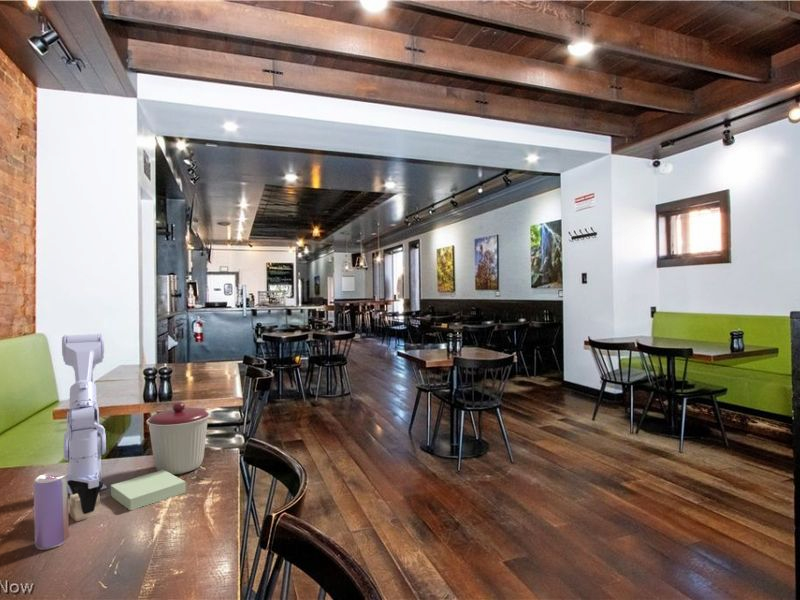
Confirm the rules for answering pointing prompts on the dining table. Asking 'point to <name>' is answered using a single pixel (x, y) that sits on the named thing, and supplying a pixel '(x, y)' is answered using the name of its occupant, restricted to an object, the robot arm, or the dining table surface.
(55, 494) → the beverage can
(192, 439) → the canister
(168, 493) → the green plinth
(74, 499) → the maple block
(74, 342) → the robot arm
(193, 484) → the dining table surface
